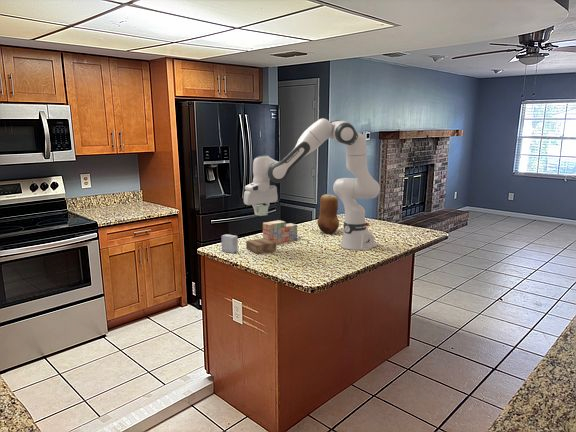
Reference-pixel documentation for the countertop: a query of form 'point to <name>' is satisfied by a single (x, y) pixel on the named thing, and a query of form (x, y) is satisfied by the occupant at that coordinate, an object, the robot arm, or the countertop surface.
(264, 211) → the sage cube
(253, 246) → the walnut block
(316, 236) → the countertop surface
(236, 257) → the countertop surface
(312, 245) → the countertop surface
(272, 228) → the stack of blocks
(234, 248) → the medicine box
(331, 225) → the butternut squash
